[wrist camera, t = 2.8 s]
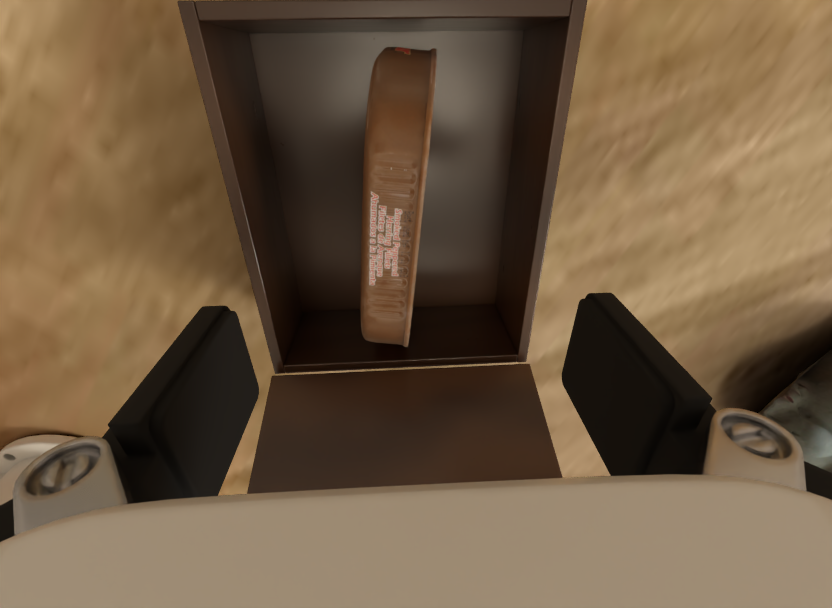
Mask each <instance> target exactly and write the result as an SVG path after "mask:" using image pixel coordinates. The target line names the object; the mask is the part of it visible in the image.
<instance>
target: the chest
mask: <svg viewBox="0 0 832 608" xmlns="http://www.w3.org/2000/svg"><path fill="white" fill-rule="evenodd" d="M586 5H587V0H228V1H178V6H179V10H180V14H181V17H182V21H183V25H184V29H185V33H186V36H187V40H188V44H189V48H190V52H191V55H192V59H193V63H194V67H195V71H196V74H197V78H198V82H199V86H200V90H201V93H202V97H203V101H204V105H205V109H206V112H207V116H208V120H209V124H210V128H211V131H212V135H213V139H214V143H215V147H216V150H217V154H218V158H219V162H220V166H221V169H222V173H223V177H224V181H225V185H226V188H227V192H228V196H229V200H230V204H231V207H232V211H233V215H234V219H235V223H236V226H237V230H238V234H239V238H240V242H241V245H242V249H243V253H244V257H245V261H246V264H247V268H248V272H249V276H250V280H251V283H252V287H253V291H254V295H255V299H256V302H257V306H258V310H259V314H260V318H261V321H262V325H263V329H264V333H265V337H266V340H267V344H268V348H269V352H270V356H271V360H272V363H273V367H274V371H275V374H281V373H298V372H319V371H340V370H361V369H382V368H403V367H424V366H446V365H467V364H488V363H509V362H516V361H517V362H526V359H527V353H528V347H529V342H530V336H531V330H532V324H533V318H534V312H535V306H536V300H537V294H538V288H539V282H540V277H541V271H542V265H543V259H544V253H545V247H546V241H547V235H548V229H549V223H550V217H551V212H552V206H553V200H554V194H555V188H556V182H557V176H558V170H559V164H560V158H561V153H562V147H563V141H564V135H565V129H566V123H567V117H568V111H569V105H570V99H571V93H572V88H573V82H574V76H575V70H576V64H577V58H578V52H579V46H580V40H581V34H582V28H583V23H584V17H585V11H586ZM386 47H401V48H409V49H418V50H431V49H432V48H435V49H437V64H436V79H435V92H434V102H433V118H432V125H431V137H430V149H429V158H428V167H427V177H426V186H425V194H424V204H423V215H422V223H421V233H420V243H419V251H418V262H417V272H416V282H415V291H414V300H413V310H412V318H411V328H410V336H409V343H408V347H404V346H403V345H399V344H387V343H377V342H370V341H367V340H365V339H364V337H363V335H362V331H361V310H360V307H361V235H362V201H363V167H364V146H365V128H366V115H367V102H368V95H369V87H370V80H371V74H372V69H373V65H374V63H375V60H376V58H377V57H378V55H379V54H380V53H381V52H382V51H383V49H384V48H386Z"/></svg>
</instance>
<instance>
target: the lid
mask: <svg viewBox="0 0 832 608" xmlns="http://www.w3.org/2000/svg"><path fill="white" fill-rule="evenodd" d="M551 478H562V474H561V471H560V467H559V464H558V461H557V457H556V454H555V450H554V447H553V443H552V440H551V436H550V433H549V429H548V426H547V423H546V419H545V416H544V412H543V409H542V405H541V402H540V398H539V395H538V392H537V388H536V385H535V381H534V378H533V374H532V371H531V367H530V364H514V365H493V366H472V367H451V368H430V369H409V370H388V371H367V372H346V373H325V374H304V375H283V376H272V378H271V383H270V388H269V392H268V397H267V402H266V407H265V411H264V416H263V421H262V426H261V430H260V435H259V440H258V445H257V449H256V454H255V459H254V464H253V468H252V473H251V478H250V483H249V487H248V492H247V494H254V493H272V492H290V491H308V490H326V489H344V488H363V487H383V486H403V485H422V484H443V483H463V482H484V481H506V480H528V479H551Z"/></svg>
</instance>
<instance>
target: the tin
mask: <svg viewBox="0 0 832 608" xmlns="http://www.w3.org/2000/svg"><path fill="white" fill-rule="evenodd" d="M436 64H437V49H435V48H432V49H431V50H418V49H409V48H401V47H386V48H384V49H383V51H382V52H381V53H380V54H379V55H378V57H377V58H376V60H375V63H374V65H373V69H372V74H371V80H370V87H369V95H368V102H367V115H366V128H365V146H364V167H363V201H362V235H361V307H360V310H361V331H362V335H363V337H364V339H365V340H367V341H370V342H377V343H387V344H399V345H403V346H404V347H408V343H409V336H410V328H411V318H412V310H413V300H414V291H415V282H416V272H417V262H418V251H419V243H420V233H421V223H422V215H423V204H424V194H425V186H426V177H427V167H428V158H429V149H430V137H431V125H432V118H433V102H434V92H435V79H436Z"/></svg>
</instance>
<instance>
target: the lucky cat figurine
mask: <svg viewBox="0 0 832 608" xmlns="http://www.w3.org/2000/svg"><path fill="white" fill-rule="evenodd" d="M758 414H760V415H762V416H765V417H767V418H769V419H771V420H773V421H774V422H776V423H777V424H779V425H781V426H782V427H783V428H785V429H786V430H787V431H788V432H789V433H791V434H792V435H793V436H794V438H795V439H796V440H797V441H798V443H799V444H800V446H801V449H802V451H803V457H804V461H806V462H808V463H810V464H812V465H815V466H817V467H819V468H821V469H824V470H826V471H828V472H831V473H832V349H831V350H830V351H829V352H828V353H826V354H825V355H824V356H823V357H821V358H820V359H819V360H818V361H816V362H815V363H814V364H812V365H811V366H810V367H808V368H807V369H805V370H804V371H803V372H801V373H800V374H798V376H797V379H796V380H795V381H794V382H792V383H791V384H790V385H789V386H788V387H786V388H785V389H784V390H783V391H782V392H781V393H780V394H778V395H777V396H776V397H775V398H774V399H773V400H772V401H771V402H770V403H768V404H767V405H766V406H765V408H764V409H763V410H761V411H760V412H759V413H758Z"/></svg>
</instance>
